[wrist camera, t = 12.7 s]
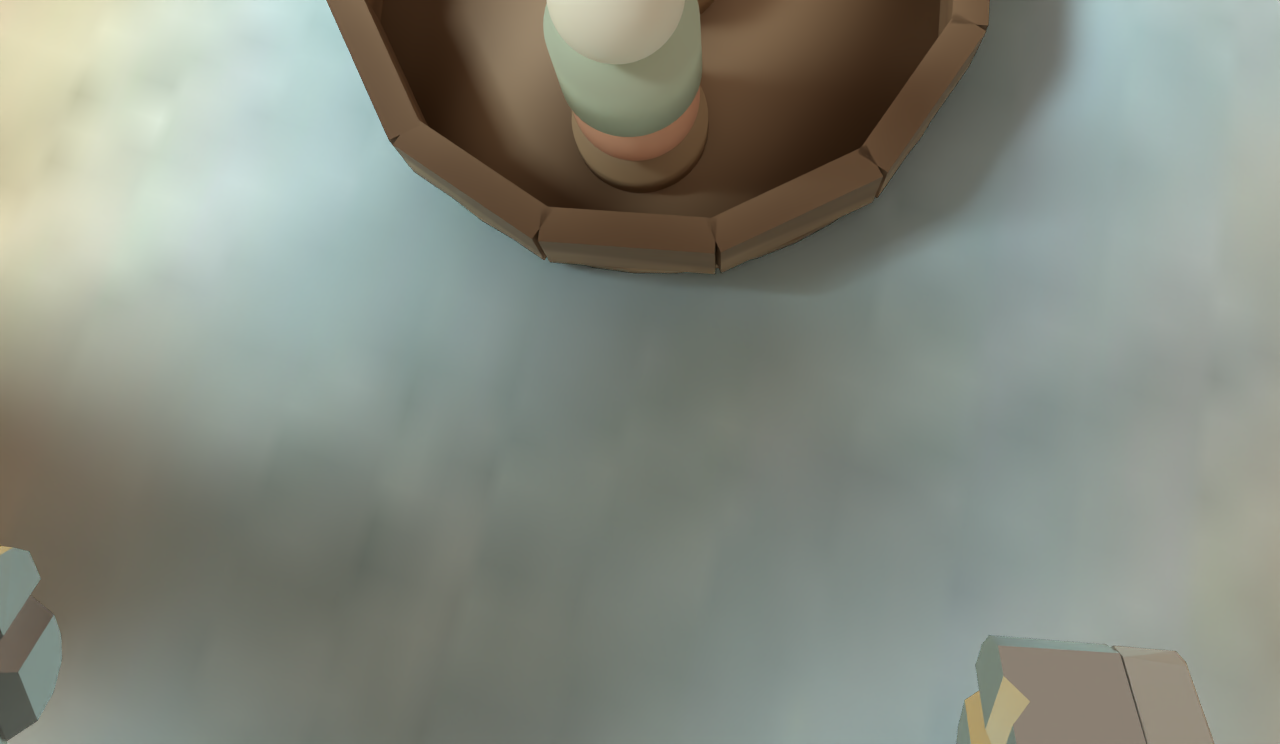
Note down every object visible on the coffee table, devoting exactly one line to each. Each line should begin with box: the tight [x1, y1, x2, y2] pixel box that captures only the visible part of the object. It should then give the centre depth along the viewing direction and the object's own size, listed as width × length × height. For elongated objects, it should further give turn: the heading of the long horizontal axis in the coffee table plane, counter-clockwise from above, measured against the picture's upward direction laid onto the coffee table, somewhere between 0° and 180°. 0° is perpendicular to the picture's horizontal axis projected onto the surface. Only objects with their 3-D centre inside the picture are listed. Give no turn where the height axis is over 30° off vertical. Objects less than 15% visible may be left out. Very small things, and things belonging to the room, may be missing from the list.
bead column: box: [543, 0, 709, 193], centre depth 32 cm, size 4×4×10 cm
